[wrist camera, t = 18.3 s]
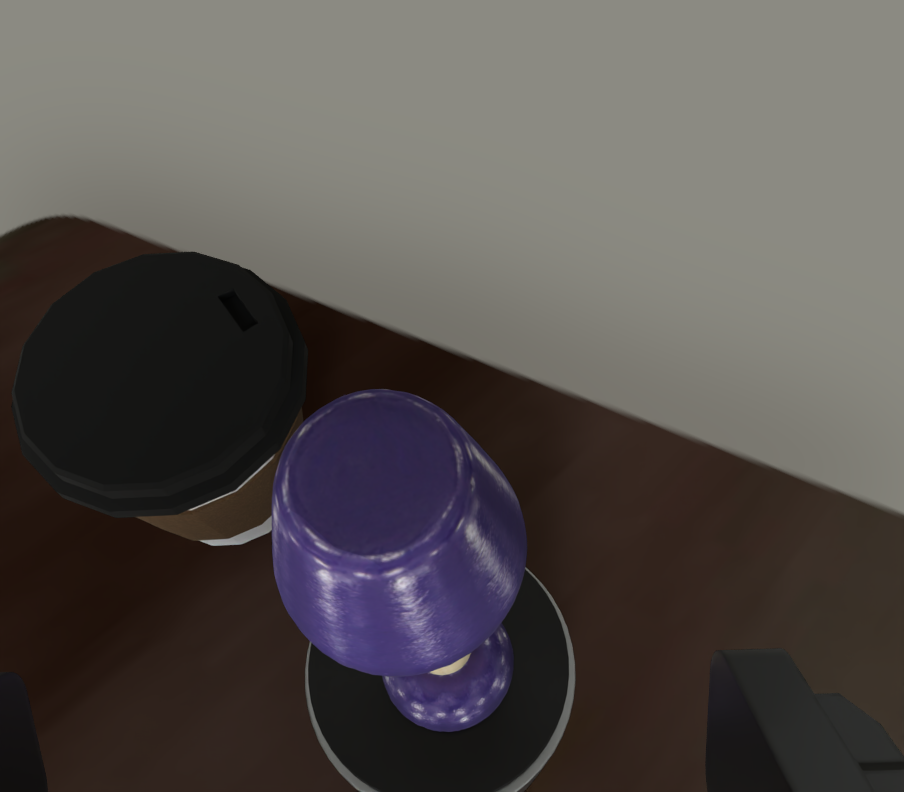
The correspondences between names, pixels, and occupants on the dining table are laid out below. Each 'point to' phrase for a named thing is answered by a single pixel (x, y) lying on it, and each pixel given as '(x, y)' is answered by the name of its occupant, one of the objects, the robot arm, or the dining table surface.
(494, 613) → the toy lamp
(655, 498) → the dining table surface
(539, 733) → the grey metal canister
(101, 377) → the coffee cup
